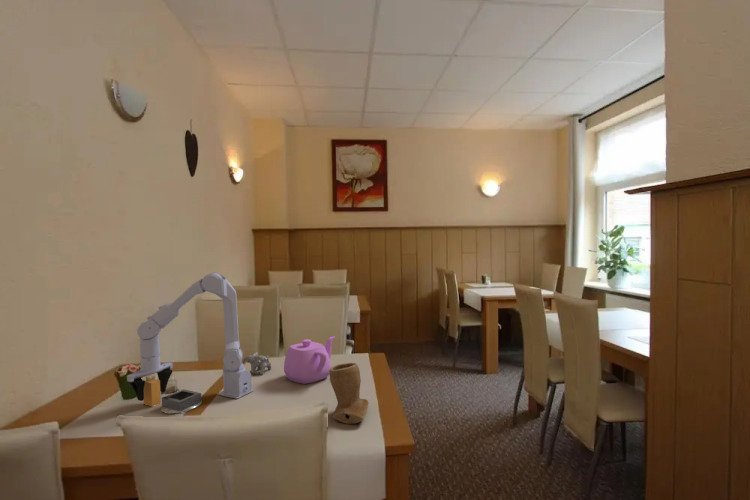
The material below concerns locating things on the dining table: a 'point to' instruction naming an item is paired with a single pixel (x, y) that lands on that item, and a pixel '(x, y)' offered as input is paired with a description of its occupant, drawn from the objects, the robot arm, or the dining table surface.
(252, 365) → the gray elephant figurine
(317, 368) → the teapot
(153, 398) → the rectangular block
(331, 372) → the clay pipe bowl
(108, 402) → the dining table surface
